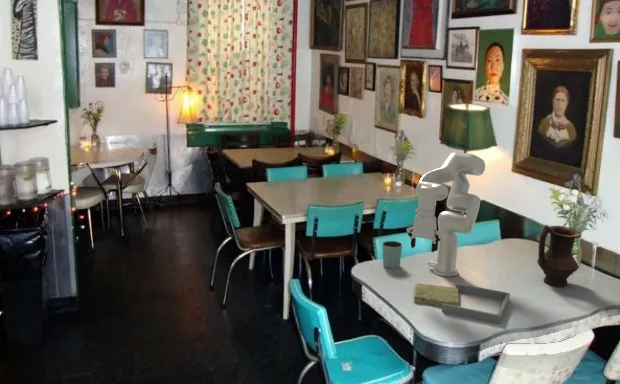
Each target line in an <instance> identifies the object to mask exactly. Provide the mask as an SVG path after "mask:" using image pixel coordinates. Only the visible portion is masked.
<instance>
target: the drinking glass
mask: <svg viewBox="0 0 620 384" xmlns="http://www.w3.org/2000/svg"><path fill="white" fill-rule="evenodd" d="M402 250H403V243H402V242H400V241H396V240H385V241H383V242H382V266H383V267H384V268H386V269H392V270H394V269H400V266H401V256H402V252H403V251H402Z"/></svg>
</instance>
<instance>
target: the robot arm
mask: <svg viewBox="0 0 620 384" xmlns="http://www.w3.org/2000/svg"><path fill="white" fill-rule="evenodd" d="M485 171H486V163H485V161H484V159H483V158H481V157H479V156H478V155H475V154H472V153H466V152H457V151H456V152H451V153H450V154H448V156H447V157H446V158H445V160H444V162H443V163H442V164H441V166H440V167H439V168H436V169H433V170H431V171H428V172H426V173H425V174H424V175H422V177H420V180H419V181H418V182H417V184H416V188H415V192H416V195H417V196H418V206H417V208H415V209H414V212H416V213H417V214H415V216H414V220H413V225H412V226H410V227H407V228H406V233H407V235H408V237H409V239H410V247H411V249H413V248H416V242H417V240H416V239H417V238H418V239H419V238H421V239H424V240H431V241H432V243H431V253H434V252H435V251H436V250H437V253H436V261H431V260H428V263H427V265H428V266H429V267H433V268H432V272H433V274H435V275H438V276H442V277H455V276H457V275H458V274H459V269H458V268H456V267H457V256H458V255H457V254H458V244H459V238H458V235H457V233H459V234H464V235H469V234H471V233H472V232H473V230H474V227H475V223H476V220H477V217H478V213H479V211H480V207H481V206H480V205H481V201H480V200H481V199H480V197H479V196H478V194H474V193H469V190H470V181H469V180H468V178H467V176H466V175H470V176H482V175H483V174H484V172H485ZM449 182H452V183H451V187H450V191H449V189H448V187H447V185H445V183H449ZM445 199H447V200H446V206H447V208H448V209H449V210H444V211H442V212H440V213H439V215H438V217H436V215H435V214H436V202H437V201H443V200H445ZM450 210H451V211H450ZM461 212H462V213H461ZM437 226H438V228H437ZM437 229H438V230H437ZM411 231H412V232H411ZM437 236H438V238H437Z"/></svg>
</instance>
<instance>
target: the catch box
mask: <svg viewBox="0 0 620 384" xmlns="http://www.w3.org/2000/svg"><path fill="white" fill-rule="evenodd" d="M455 288H458V293H464V294H470V295H473V296H474V295H475V296H479V297H485V298H490V299H493V300H494V299H495V300H500V301H503V302H502V304H501V305H500V308H499V311H498V313H492V312H488V311H483V310H477V309H472V308H467V307H462V306H454V305H449V304H444V303H443V304H442V307H441V313H445V314H448V315H449V314H451V315H456V316H460V317H465V318H468V319H469V318H470V319H472V320H473V319H475V320H478V321H483V322H489V323H493V324H498V325H499V324H500V323H501V321H502V318H503V316H504V314H505V312H506V309H507V307H508V304H509V303H510V297H511V293H510V292H505V291H500V290H494V289H489V288H484V287H481V286H480V287H479V286H473V285H469V284H464V283H463V284H462V283H458V282H456V284H455Z"/></svg>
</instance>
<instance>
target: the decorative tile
mask: <svg viewBox="0 0 620 384" xmlns="http://www.w3.org/2000/svg"><path fill="white" fill-rule="evenodd" d="M413 290H414V291H413V293H414V294H413V303H414V304H426V305H432V306H436V307H441V308H442V304H443V303H444V304H449V305H454V306H459V305H460V304H459V303H460V299H459V292H458V288H456V287H453V286H446V285H435V284H424V283H415V284H414V289H413ZM459 307H460V306H459Z"/></svg>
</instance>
